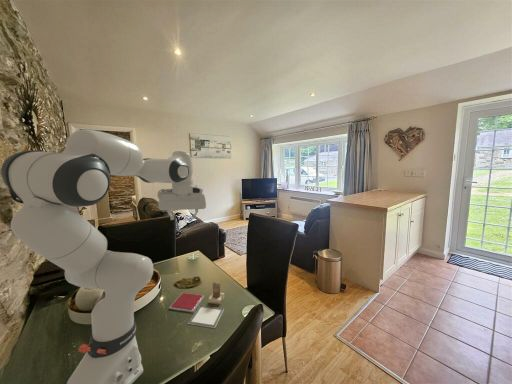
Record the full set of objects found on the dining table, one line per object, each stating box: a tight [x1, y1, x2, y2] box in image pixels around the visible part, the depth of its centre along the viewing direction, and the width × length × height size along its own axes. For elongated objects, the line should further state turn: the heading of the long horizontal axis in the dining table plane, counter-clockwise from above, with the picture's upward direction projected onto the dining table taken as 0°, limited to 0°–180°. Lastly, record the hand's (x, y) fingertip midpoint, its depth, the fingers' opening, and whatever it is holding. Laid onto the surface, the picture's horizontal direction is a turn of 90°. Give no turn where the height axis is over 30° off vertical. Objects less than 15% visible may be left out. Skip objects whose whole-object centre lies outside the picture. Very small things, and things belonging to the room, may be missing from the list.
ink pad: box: [168, 292, 205, 313], centre depth 104 cm, size 12×12×1 cm
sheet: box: [187, 304, 225, 329], centre depth 95 cm, size 12×12×1 cm
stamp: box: [208, 281, 225, 305], centre depth 106 cm, size 6×6×9 cm
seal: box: [174, 276, 203, 289], centre depth 121 cm, size 9×5×15 cm
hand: (183, 219), depth 97 cm, fingers open, 8 cm apart
